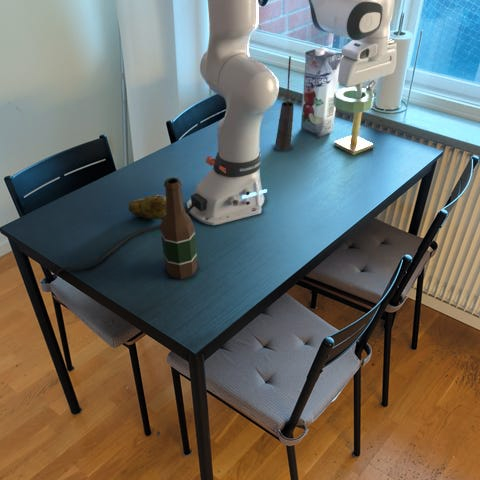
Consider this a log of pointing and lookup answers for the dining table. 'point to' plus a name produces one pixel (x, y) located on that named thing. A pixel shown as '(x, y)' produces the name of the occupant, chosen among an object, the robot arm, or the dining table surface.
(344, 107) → the ring
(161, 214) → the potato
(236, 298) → the dining table surface
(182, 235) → the beer bottle
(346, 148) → the stand
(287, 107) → the butter churn
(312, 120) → the juice carton
